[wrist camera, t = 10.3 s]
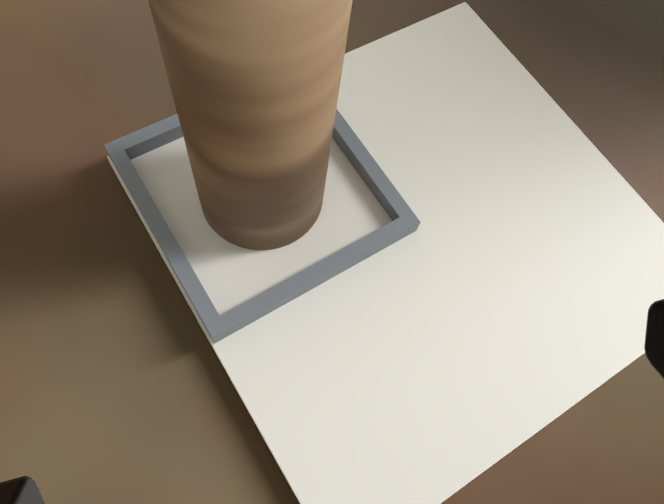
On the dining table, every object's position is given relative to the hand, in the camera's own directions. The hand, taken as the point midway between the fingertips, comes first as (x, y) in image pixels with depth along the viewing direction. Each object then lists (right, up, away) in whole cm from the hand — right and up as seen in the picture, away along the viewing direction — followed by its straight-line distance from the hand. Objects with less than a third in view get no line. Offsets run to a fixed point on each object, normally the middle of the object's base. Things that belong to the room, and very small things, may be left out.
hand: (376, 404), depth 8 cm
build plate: (+3, +3, +17) cm, 17 cm away
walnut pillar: (-3, +4, +16) cm, 17 cm away
